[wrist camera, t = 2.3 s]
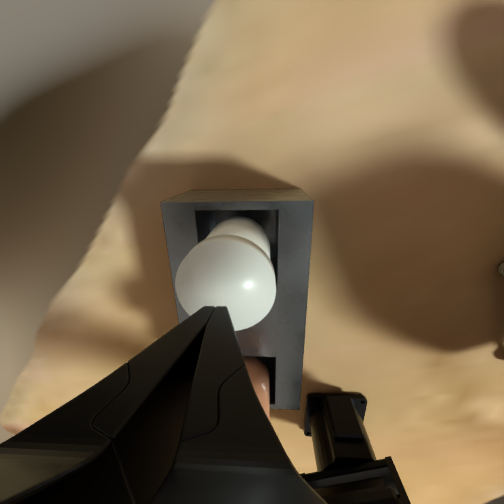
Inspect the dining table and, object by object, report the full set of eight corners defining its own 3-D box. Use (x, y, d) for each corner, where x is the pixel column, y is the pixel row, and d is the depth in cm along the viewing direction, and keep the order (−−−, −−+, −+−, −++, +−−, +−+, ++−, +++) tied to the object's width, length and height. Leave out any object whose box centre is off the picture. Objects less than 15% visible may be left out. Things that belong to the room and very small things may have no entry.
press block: (292, 354, 26) (299, 409, 20) (207, 352, 26) (191, 405, 20) (300, 188, 19) (313, 200, 14) (190, 190, 20) (160, 202, 14)
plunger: (272, 277, 16) (275, 331, 11) (208, 276, 17) (181, 330, 11) (273, 212, 15) (276, 241, 10) (202, 213, 15) (168, 241, 10)
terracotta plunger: (271, 395, 20) (273, 476, 15) (219, 393, 21) (203, 472, 15) (271, 353, 19) (273, 428, 14) (215, 352, 19) (196, 425, 14)
